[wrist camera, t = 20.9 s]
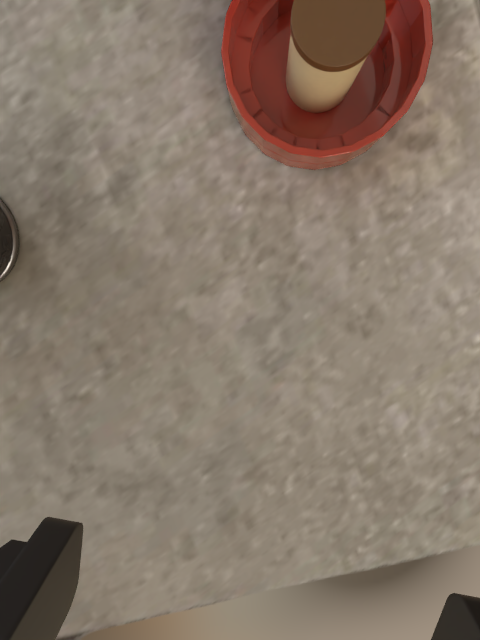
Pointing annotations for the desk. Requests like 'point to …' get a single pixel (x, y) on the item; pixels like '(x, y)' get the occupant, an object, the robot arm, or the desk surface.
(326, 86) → the tea tin
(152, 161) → the desk surface
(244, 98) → the bowl
